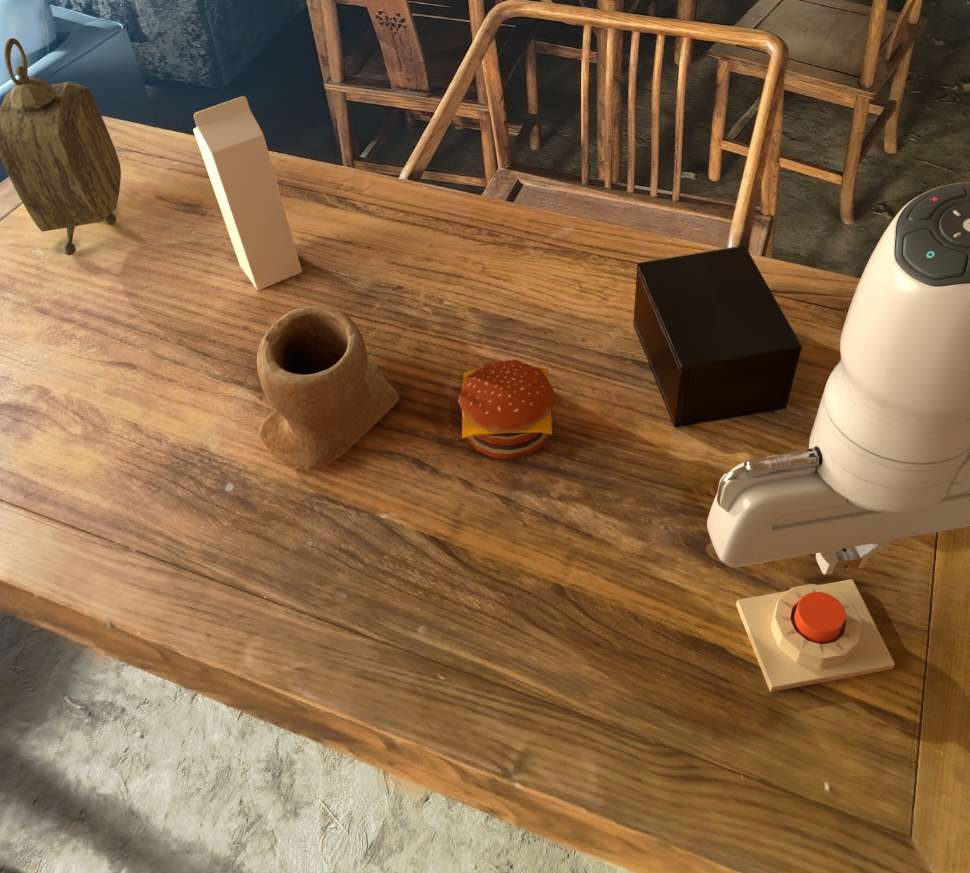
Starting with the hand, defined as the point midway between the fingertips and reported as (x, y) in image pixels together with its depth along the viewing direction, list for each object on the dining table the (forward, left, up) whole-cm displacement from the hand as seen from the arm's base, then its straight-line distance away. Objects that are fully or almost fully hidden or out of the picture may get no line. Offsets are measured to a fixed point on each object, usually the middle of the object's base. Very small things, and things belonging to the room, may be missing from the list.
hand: (838, 563), depth 67 cm
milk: (+44, -61, -13) cm, 76 cm away
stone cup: (+37, -33, -13) cm, 51 cm away
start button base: (0, 0, -12) cm, 12 cm away
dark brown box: (-2, -33, -12) cm, 35 cm away
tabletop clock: (+67, -76, -13) cm, 102 cm away
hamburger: (+20, -29, -13) cm, 37 cm away
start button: (0, 0, -9) cm, 9 cm away
